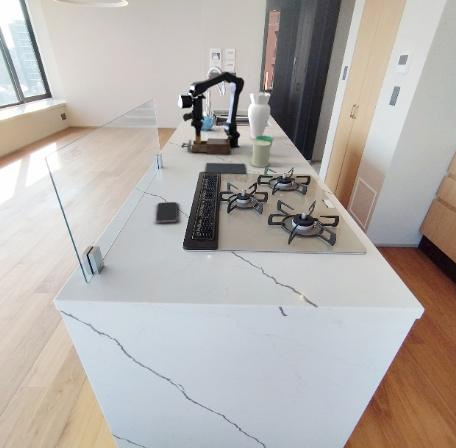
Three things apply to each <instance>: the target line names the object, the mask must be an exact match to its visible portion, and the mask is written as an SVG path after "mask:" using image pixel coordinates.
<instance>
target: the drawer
mask: <svg viewBox="0 0 456 448" xmlns="http://www.w3.org/2000/svg"><path fill="white" fill-rule="evenodd" d="M192 143H193V144H192ZM183 148H187V153H190V152H201V153H202V152H205V153H207V140H201V145H196V139H195V140H193V141H192V139H189V140H188V143H185V142H182V144H181V149H183Z"/></svg>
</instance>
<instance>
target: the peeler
mask: <svg viewBox="0 0 456 448" xmlns="http://www.w3.org/2000/svg"><path fill="white" fill-rule="evenodd" d="M194 135H195V136H194V137H195V140H196V145H201V141H202V131H201V132H200V135H199V137H197V134H196V130H195V129H194Z"/></svg>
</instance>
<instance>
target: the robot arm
mask: <svg viewBox="0 0 456 448" xmlns="http://www.w3.org/2000/svg"><path fill="white" fill-rule="evenodd" d="M223 82H227V83H228V84H229V85H230V86H229V89H230V101H229V109H228V116H227V120H226V121H223V127H222V128H223V131H224V133H225V135H226V137H227V138H226V139H230V149H235V148H240V145H239V139H240V137H241V134H240V132H239V131H238V124H237V114H238V108H239V101H240V95H241V93H242V92H243V90H244V87H245V80H244V78H242V77H239V76H236V75H234V74H232V73H231V72H229V71H222V72H220V73H219V74H215V75H214V76H212V77H209V78H207V79H205V80H199V81H195V82H193V83H191V85H190V88H189V90H188V91H187V94H179V98H178V101H177V102H178V103H177V104H178V108H179V109H181V110H182V109H183V110H184V109H191V108H192V110H191V111H190V112H186V113H184V114H183V115H182V119H183V121H184V122H188V121H189V120H191V122H190V127H193V128H194V131H195V130H196V134H197V137H199V135H200V132H201V133H202V130H203V129H202V126H203V123H204V122H202V121H201V120H203V121H204V116H205V115H204V112H203V111H204V107H203V106H204V105H203V103H204V102H203V100H207V96H206V95H204V93H205V92H207V91H208V90H209V89H210V88H212V87H214V86H217V85H218V84H220V83H223ZM201 129H202V130H201Z"/></svg>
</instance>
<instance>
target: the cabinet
mask: <svg viewBox="0 0 456 448" xmlns="http://www.w3.org/2000/svg"><path fill="white" fill-rule="evenodd" d="M206 141H207V152H206V155H217V156H220V155H221V156H222V155H223V156H229V155H231V154H230V153H231V148H230V139H227V138H210V137H209V138H207V139H206Z"/></svg>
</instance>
